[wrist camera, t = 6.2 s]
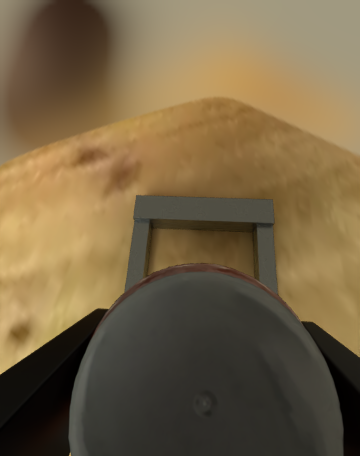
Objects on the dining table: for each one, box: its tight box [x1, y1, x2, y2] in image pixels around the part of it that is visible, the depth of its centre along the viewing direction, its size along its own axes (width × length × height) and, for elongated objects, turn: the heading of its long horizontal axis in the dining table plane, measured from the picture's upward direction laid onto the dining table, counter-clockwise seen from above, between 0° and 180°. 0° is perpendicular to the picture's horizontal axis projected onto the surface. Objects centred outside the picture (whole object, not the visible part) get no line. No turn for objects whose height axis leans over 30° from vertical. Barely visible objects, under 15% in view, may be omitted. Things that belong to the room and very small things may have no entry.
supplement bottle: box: [68, 263, 344, 456], centre depth 9 cm, size 6×6×11 cm
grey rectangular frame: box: [124, 195, 278, 295], centre depth 19 cm, size 20×11×2 cm, turn 176°
